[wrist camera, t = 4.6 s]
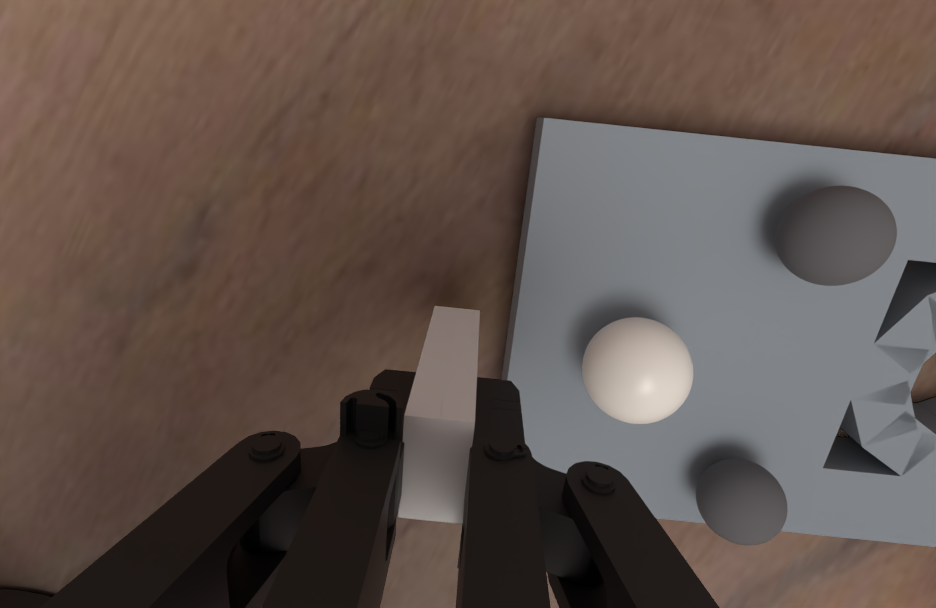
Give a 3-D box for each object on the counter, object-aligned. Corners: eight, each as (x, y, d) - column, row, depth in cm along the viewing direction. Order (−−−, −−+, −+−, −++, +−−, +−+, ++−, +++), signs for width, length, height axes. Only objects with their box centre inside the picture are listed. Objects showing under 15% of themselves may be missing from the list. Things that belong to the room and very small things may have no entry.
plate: (489, 463, 24) (490, 501, 21) (536, 117, 19) (544, 117, 16) (1008, 516, 24) (1065, 560, 21) (1201, 186, 19) (1304, 197, 16)
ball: (567, 384, 19) (583, 440, 16) (583, 297, 18) (604, 338, 15) (659, 394, 19) (695, 451, 16) (682, 307, 18) (725, 350, 15)
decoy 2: (745, 265, 18) (795, 294, 15) (772, 175, 17) (831, 187, 14) (833, 274, 18) (899, 305, 15) (865, 184, 17) (943, 199, 14)
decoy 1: (675, 500, 21) (705, 560, 18) (694, 438, 20) (728, 491, 17) (749, 508, 21) (789, 568, 18) (771, 446, 20) (818, 500, 17)
